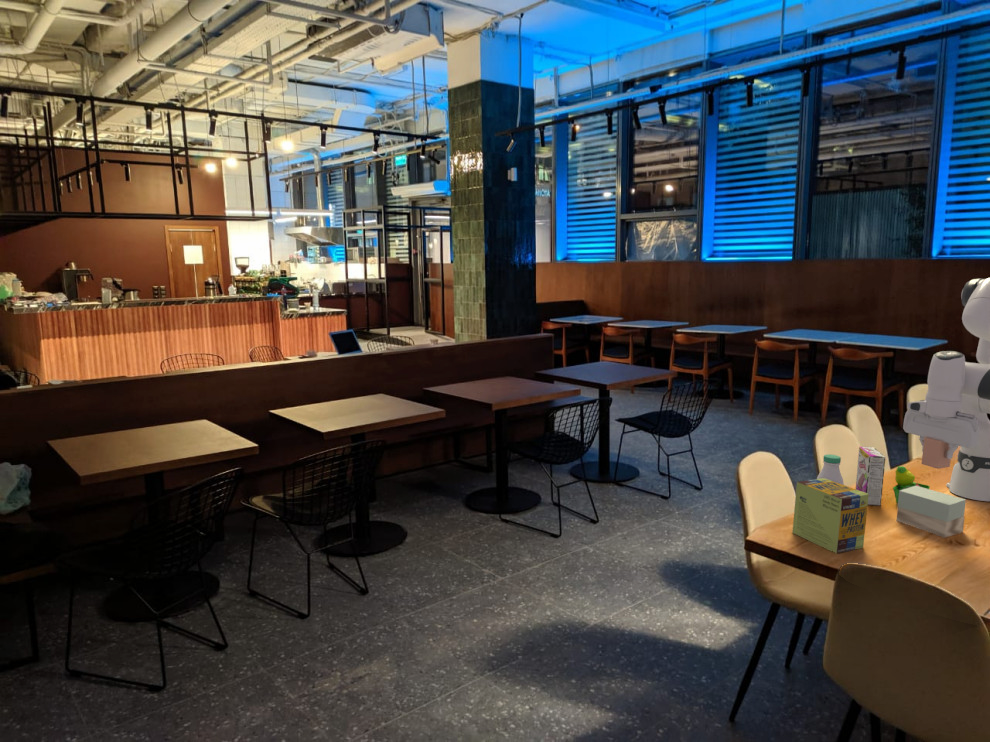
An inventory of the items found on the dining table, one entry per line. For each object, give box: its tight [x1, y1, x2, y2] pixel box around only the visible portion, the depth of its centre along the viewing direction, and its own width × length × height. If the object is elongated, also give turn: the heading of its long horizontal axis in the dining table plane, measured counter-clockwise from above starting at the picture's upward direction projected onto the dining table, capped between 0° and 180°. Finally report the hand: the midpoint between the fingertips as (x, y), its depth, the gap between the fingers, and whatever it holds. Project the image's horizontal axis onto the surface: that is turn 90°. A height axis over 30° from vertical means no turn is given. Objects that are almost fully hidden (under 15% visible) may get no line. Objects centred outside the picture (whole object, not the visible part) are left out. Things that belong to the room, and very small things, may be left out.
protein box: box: [791, 478, 869, 554], centre depth 192 cm, size 10×15×16 cm
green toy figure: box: [892, 465, 930, 504], centre depth 223 cm, size 11×9×11 cm
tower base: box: [896, 506, 965, 539], centre depth 203 cm, size 9×14×5 cm, turn 27°
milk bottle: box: [816, 453, 845, 485], centre depth 206 cm, size 8×8×20 cm
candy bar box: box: [855, 446, 886, 507], centre depth 224 cm, size 11×5×16 cm, turn 168°
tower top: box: [897, 486, 967, 522], centre depth 202 cm, size 9×14×5 cm, turn 31°
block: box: [921, 437, 952, 470], centre depth 199 cm, size 5×5×8 cm
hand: (936, 455), depth 199 cm, fingers closed on block, 5 cm apart
